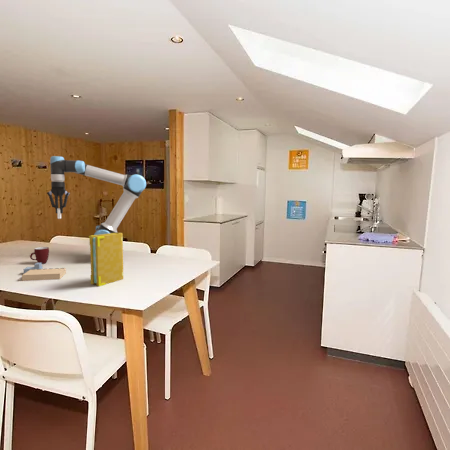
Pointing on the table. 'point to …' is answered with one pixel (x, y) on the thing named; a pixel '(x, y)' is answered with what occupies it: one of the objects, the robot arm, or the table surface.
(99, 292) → the table surface
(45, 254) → the mug
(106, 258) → the book
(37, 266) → the stub
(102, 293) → the table surface
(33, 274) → the board
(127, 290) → the table surface
